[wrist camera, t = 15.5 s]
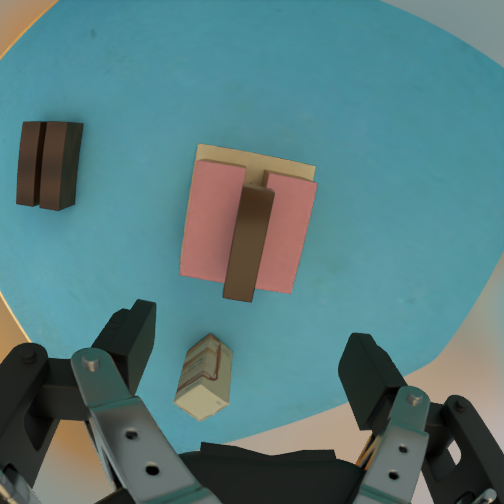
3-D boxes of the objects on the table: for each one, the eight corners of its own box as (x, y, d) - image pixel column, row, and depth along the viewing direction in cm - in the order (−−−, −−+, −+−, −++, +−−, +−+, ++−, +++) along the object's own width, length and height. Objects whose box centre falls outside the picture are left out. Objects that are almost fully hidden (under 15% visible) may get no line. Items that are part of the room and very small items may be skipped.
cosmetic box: (210, 331, 40) (202, 382, 30) (233, 351, 41) (232, 404, 31) (183, 352, 40) (171, 403, 31) (207, 370, 42) (200, 423, 32)
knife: (242, 174, 33) (242, 186, 22) (264, 179, 33) (275, 192, 22) (227, 253, 36) (222, 298, 25) (248, 257, 36) (251, 303, 25)
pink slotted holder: (198, 143, 32) (188, 141, 26) (315, 166, 33) (332, 170, 27) (180, 263, 36) (168, 287, 30) (287, 281, 38) (296, 308, 31)
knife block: (40, 122, 30) (22, 121, 26) (84, 123, 31) (67, 121, 27) (33, 198, 33) (16, 204, 29) (74, 204, 34) (58, 211, 30)
